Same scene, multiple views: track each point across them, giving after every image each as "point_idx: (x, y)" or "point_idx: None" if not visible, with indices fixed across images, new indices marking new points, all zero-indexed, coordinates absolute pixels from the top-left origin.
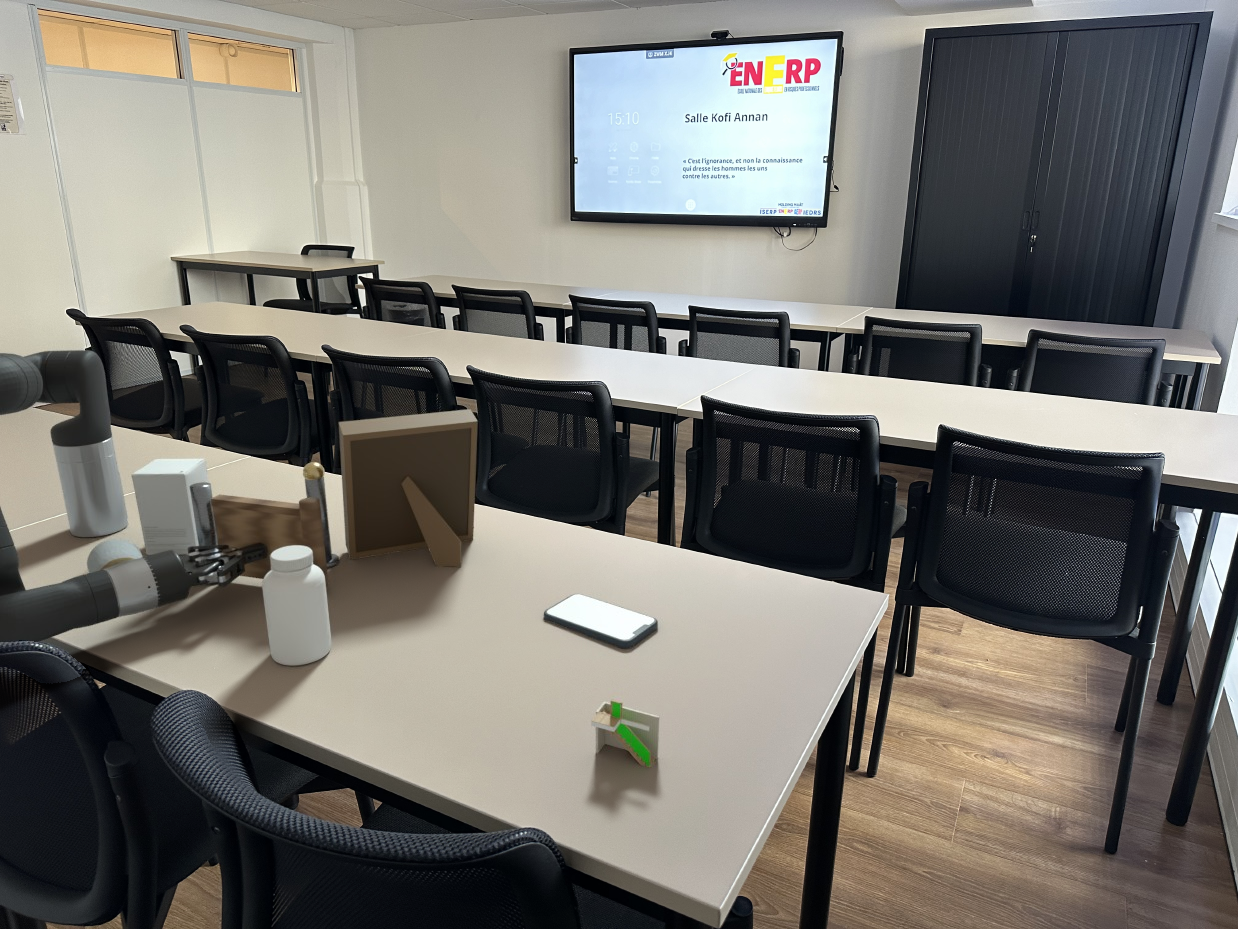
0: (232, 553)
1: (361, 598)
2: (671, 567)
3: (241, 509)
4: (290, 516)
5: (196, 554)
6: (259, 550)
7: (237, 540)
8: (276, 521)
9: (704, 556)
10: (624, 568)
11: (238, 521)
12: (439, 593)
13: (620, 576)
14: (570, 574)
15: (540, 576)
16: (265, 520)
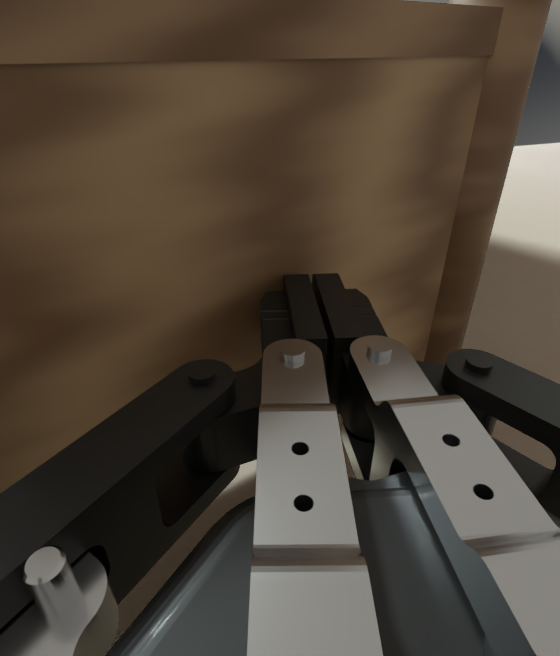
0: (386, 376)
1: (507, 328)
2: (535, 157)
3: (158, 64)
4: (448, 66)
5: (363, 619)
6: (365, 301)
7: (127, 325)
8: (376, 116)
9: (515, 146)
10: (521, 167)
11: (132, 181)
12: (534, 256)
13: (546, 172)
14: (519, 185)
15: (513, 196)
16: (319, 124)
